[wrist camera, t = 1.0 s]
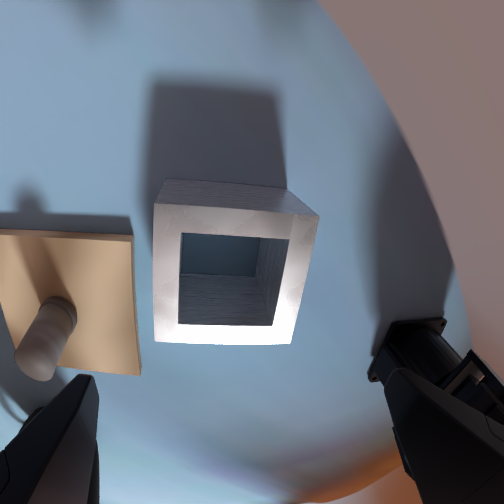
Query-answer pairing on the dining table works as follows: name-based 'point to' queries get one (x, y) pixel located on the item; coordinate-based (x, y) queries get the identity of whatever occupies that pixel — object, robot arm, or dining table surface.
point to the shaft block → (70, 301)
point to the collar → (227, 286)
